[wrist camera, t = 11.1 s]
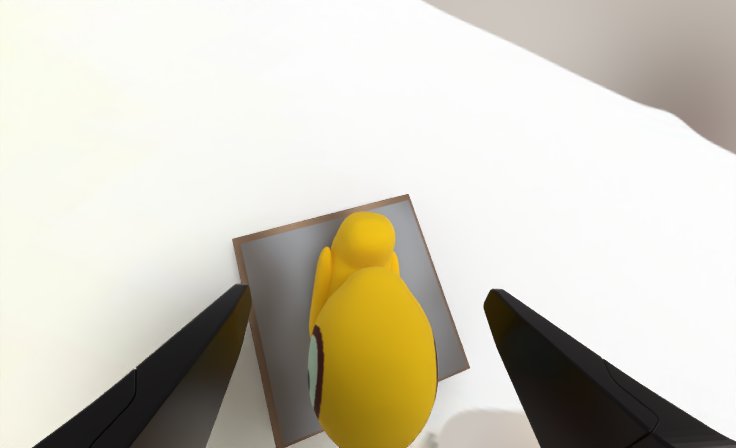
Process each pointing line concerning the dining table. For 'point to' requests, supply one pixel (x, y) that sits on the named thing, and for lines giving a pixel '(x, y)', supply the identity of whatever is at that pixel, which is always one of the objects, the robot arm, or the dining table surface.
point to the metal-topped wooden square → (294, 297)
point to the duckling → (368, 342)
